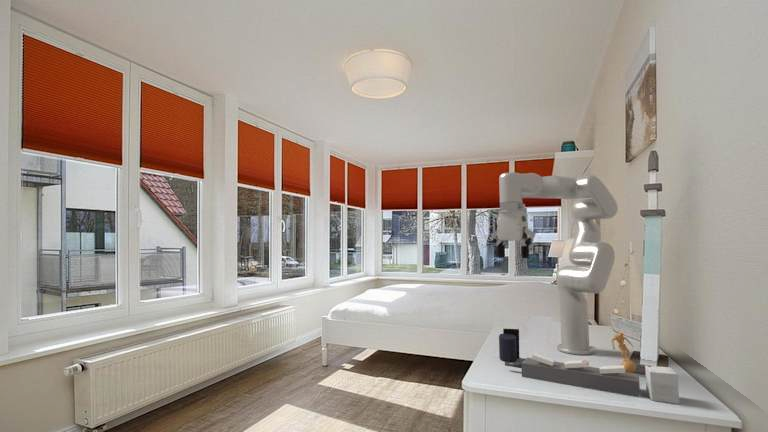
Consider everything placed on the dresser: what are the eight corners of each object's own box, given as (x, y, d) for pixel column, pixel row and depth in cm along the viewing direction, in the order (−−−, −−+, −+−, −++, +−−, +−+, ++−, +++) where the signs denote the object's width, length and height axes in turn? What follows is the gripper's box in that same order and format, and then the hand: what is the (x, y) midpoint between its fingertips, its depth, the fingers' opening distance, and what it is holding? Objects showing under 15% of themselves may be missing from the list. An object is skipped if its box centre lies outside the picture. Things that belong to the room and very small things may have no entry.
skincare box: (679, 404, 99) (678, 374, 100) (651, 400, 101) (649, 371, 102) (673, 395, 105) (671, 367, 105) (645, 392, 107) (644, 364, 107)
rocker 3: (601, 370, 112) (600, 366, 112) (625, 369, 109) (624, 365, 109) (600, 373, 109) (599, 369, 110) (625, 372, 106) (623, 368, 107)
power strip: (508, 367, 130) (508, 353, 130) (639, 388, 110) (638, 372, 110) (502, 373, 124) (501, 358, 124) (639, 397, 104) (638, 380, 104)
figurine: (624, 376, 119) (622, 336, 120) (607, 370, 125) (605, 332, 126) (644, 373, 122) (642, 334, 123) (626, 368, 128) (624, 330, 129)
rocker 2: (566, 365, 117) (565, 360, 117) (589, 364, 114) (587, 359, 114) (565, 368, 114) (563, 363, 115) (587, 367, 111) (586, 362, 112)
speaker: (503, 354, 143) (503, 326, 143) (519, 357, 140) (519, 328, 140) (496, 361, 137) (496, 332, 137) (513, 365, 134) (513, 335, 133)
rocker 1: (534, 356, 122) (534, 352, 122) (554, 363, 119) (555, 359, 119) (531, 358, 120) (532, 354, 120) (552, 366, 116) (553, 362, 116)
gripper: (539, 206, 133) (541, 258, 132) (497, 210, 147) (498, 256, 146) (526, 205, 129) (528, 258, 128) (484, 209, 143) (485, 257, 142)
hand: (512, 257), depth 137 cm, fingers open, 9 cm apart
